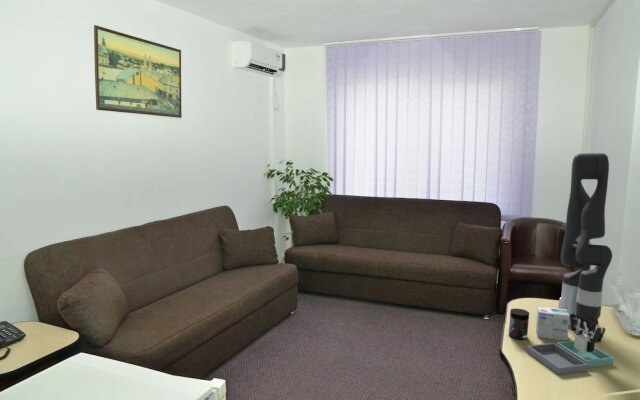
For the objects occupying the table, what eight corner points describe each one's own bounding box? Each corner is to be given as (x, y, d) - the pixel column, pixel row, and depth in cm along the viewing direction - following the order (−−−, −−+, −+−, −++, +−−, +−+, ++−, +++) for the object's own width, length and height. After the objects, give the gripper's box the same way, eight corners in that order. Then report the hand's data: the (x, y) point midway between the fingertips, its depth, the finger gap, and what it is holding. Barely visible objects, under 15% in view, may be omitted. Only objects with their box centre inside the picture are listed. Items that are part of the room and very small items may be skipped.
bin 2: (555, 350, 170) (556, 342, 169) (581, 347, 172) (582, 339, 172) (585, 369, 156) (586, 361, 156) (613, 366, 159) (613, 357, 158)
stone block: (573, 347, 166) (574, 335, 165) (584, 346, 166) (585, 334, 166) (583, 353, 161) (584, 340, 160) (594, 351, 162) (595, 339, 161)
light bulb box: (564, 335, 182) (567, 309, 181) (567, 342, 176) (570, 315, 174) (534, 331, 186) (536, 305, 184) (536, 338, 179) (538, 311, 178)
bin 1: (526, 353, 167) (527, 345, 167) (553, 350, 170) (553, 342, 169) (558, 376, 152) (559, 368, 151) (587, 373, 154) (588, 364, 154)
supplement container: (514, 332, 185) (516, 307, 183) (531, 338, 179) (533, 312, 177) (504, 336, 181) (506, 310, 179) (520, 343, 175) (522, 316, 174)
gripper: (564, 295, 167) (560, 340, 170) (596, 310, 153) (590, 359, 156) (582, 293, 169) (578, 338, 171) (615, 308, 155) (609, 357, 158)
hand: (584, 348), depth 164 cm, fingers closed on stone block, 4 cm apart
